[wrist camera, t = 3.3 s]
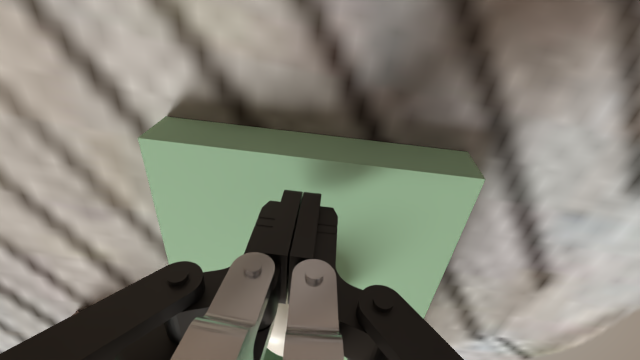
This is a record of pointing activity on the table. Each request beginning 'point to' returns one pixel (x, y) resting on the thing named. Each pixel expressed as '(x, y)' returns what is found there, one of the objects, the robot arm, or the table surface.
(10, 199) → the table surface
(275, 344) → the ball
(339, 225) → the board
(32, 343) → the robot arm
